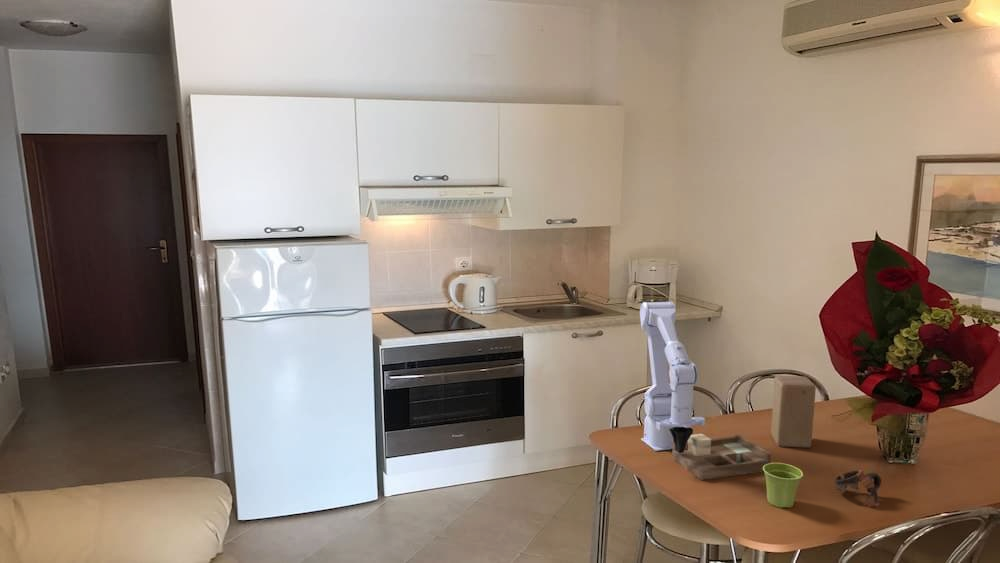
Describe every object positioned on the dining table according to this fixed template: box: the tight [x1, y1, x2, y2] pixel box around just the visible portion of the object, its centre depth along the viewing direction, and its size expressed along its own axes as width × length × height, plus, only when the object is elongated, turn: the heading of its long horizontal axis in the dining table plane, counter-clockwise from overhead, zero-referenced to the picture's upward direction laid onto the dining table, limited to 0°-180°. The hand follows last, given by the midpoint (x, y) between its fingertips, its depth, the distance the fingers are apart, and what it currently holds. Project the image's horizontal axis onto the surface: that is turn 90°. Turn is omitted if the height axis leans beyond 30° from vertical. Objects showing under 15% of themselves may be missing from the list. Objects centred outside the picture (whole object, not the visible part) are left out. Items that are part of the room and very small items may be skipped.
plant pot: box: [763, 462, 804, 509], centre depth 174 cm, size 9×9×9 cm
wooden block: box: [770, 375, 817, 449], centre depth 213 cm, size 10×10×20 cm
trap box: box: [671, 434, 772, 481], centre depth 197 cm, size 15×22×5 cm
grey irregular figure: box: [834, 469, 882, 508], centre depth 178 cm, size 12×10×8 cm
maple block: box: [687, 433, 712, 456], centre depth 199 cm, size 4×4×4 cm
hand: (679, 451), depth 197 cm, fingers closed
